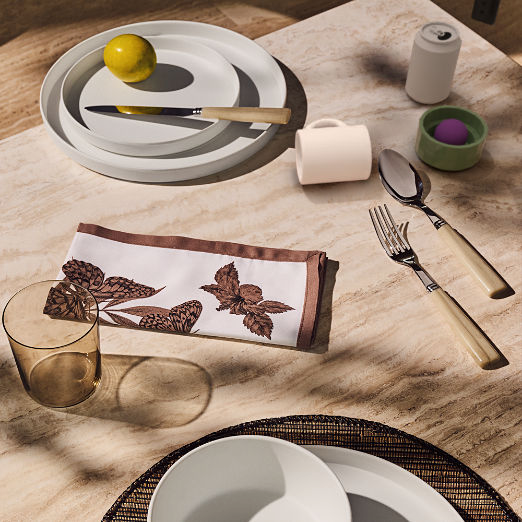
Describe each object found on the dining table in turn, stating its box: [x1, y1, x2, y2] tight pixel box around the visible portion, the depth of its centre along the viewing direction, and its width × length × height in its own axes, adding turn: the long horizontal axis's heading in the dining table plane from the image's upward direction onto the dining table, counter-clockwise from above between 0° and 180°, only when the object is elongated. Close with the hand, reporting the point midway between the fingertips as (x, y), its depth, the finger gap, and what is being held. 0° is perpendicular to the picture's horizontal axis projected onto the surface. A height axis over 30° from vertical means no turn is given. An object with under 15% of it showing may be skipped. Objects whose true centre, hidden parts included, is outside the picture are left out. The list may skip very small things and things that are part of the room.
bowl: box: [413, 104, 489, 172], centre depth 104 cm, size 10×10×5 cm
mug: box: [294, 117, 373, 186], centre depth 101 cm, size 12×10×8 cm
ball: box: [434, 119, 468, 146], centre depth 104 cm, size 5×5×5 cm
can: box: [404, 20, 463, 105], centre depth 112 cm, size 8×8×12 cm
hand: (498, 5), depth 93 cm, fingers open, 9 cm apart
